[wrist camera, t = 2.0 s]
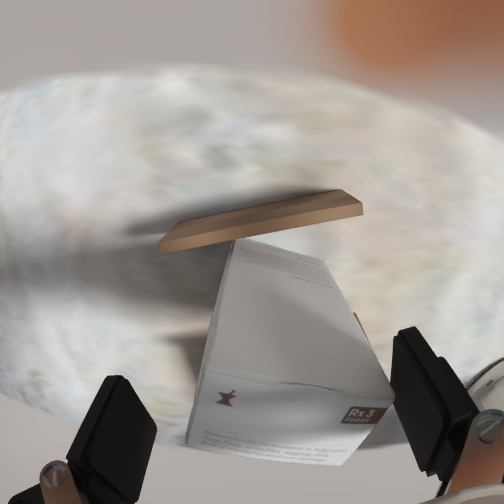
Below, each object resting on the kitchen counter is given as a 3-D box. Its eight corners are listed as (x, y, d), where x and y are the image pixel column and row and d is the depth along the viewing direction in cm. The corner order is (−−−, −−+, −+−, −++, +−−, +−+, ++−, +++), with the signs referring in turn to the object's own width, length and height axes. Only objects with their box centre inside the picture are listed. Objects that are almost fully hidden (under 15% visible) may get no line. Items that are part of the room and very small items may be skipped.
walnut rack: (341, 189, 18) (362, 202, 14) (357, 399, 23) (367, 434, 19) (178, 222, 19) (157, 243, 15) (243, 417, 24) (240, 453, 21)
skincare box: (217, 293, 20) (173, 451, 9) (234, 229, 19) (192, 364, 7) (307, 316, 21) (338, 474, 9) (330, 256, 19) (402, 400, 8)
